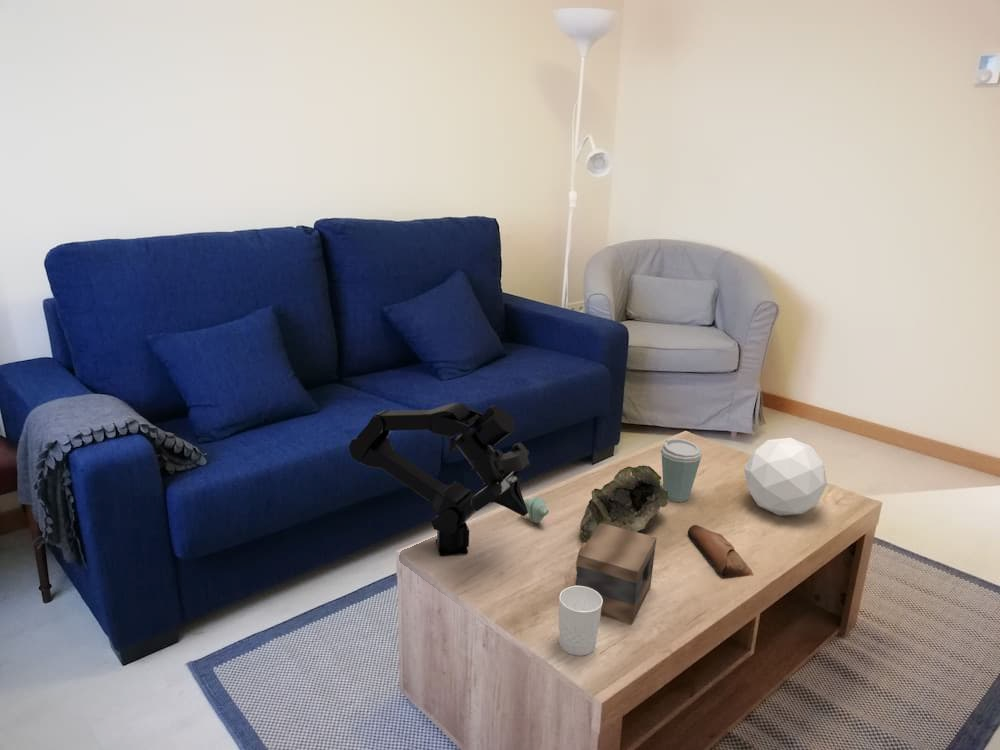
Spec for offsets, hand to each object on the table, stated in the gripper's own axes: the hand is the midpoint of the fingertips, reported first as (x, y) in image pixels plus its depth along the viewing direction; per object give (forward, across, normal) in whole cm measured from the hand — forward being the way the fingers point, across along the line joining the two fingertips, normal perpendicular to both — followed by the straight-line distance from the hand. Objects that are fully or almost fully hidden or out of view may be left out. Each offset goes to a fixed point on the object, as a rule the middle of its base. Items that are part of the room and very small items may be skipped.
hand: (526, 514), depth 155 cm
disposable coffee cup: (+25, +50, -6) cm, 56 cm away
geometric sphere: (+43, +57, -24) cm, 75 cm away
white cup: (+23, -17, -4) cm, 29 cm away
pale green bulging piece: (+6, +20, +13) cm, 25 cm away
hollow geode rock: (+20, +28, -1) cm, 34 cm away
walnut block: (+24, 0, -5) cm, 24 cm away
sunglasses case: (+36, +27, -16) cm, 48 cm away
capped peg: (+20, 0, -7) cm, 21 cm away
